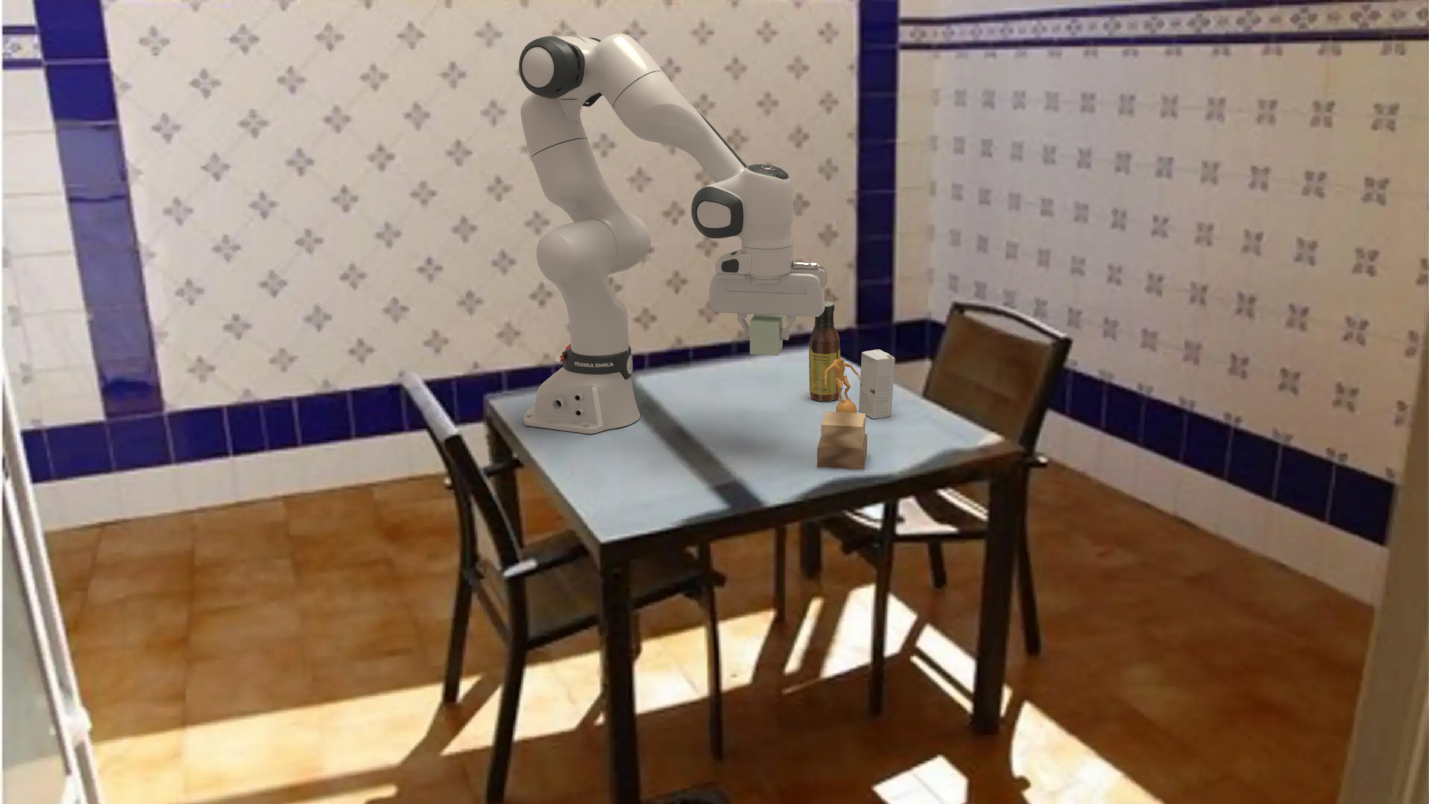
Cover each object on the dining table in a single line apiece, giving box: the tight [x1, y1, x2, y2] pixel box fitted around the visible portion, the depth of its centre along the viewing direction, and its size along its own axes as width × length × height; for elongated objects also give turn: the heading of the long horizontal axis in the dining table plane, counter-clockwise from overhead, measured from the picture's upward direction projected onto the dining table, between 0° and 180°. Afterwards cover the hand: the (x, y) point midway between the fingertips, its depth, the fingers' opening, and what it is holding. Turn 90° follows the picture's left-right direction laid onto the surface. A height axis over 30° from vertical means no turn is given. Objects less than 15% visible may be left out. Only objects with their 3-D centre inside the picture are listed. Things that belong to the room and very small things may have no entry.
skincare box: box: [858, 349, 896, 419], centre depth 230 cm, size 6×4×12 cm
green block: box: [749, 314, 784, 357], centre depth 209 cm, size 5×5×6 cm
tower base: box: [816, 433, 868, 471], centre depth 208 cm, size 8×8×4 cm
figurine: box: [824, 357, 861, 413], centre depth 227 cm, size 8×6×12 cm
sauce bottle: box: [808, 300, 841, 403], centre depth 238 cm, size 7×6×20 cm
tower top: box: [820, 411, 867, 449], centre depth 207 cm, size 7×7×4 cm
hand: (766, 338), depth 209 cm, fingers closed on green block, 5 cm apart
